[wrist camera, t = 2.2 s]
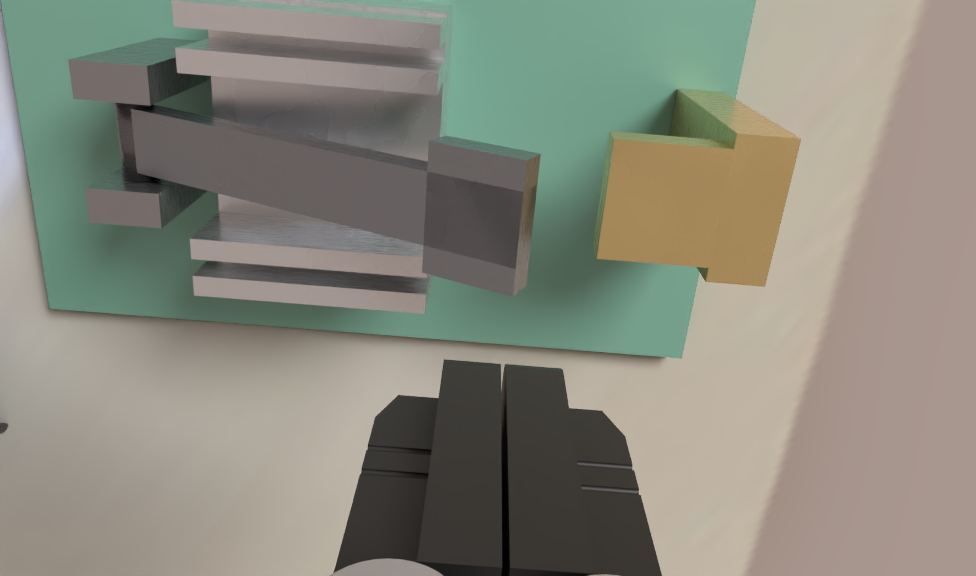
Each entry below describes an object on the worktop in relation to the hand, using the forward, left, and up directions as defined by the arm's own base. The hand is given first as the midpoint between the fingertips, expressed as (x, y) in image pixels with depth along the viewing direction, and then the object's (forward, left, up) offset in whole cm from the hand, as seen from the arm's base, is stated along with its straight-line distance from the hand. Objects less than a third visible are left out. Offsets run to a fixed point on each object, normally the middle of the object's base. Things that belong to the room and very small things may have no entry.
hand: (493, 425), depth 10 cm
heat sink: (0, -6, -18) cm, 19 cm away
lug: (0, +5, -18) cm, 18 cm away
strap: (0, -5, -11) cm, 12 cm away
